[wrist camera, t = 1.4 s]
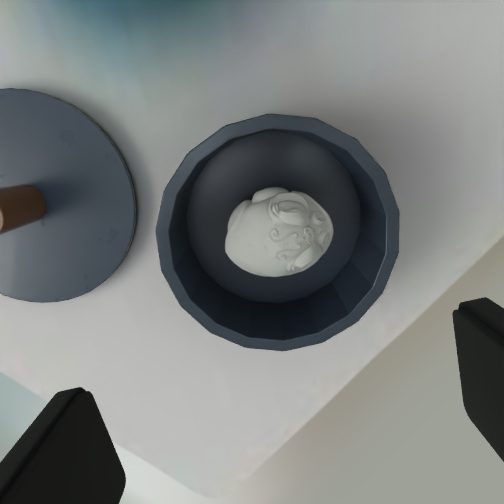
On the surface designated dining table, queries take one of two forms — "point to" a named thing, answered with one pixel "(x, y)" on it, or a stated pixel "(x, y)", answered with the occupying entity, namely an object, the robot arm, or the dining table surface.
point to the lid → (59, 200)
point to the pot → (292, 179)
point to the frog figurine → (278, 233)
